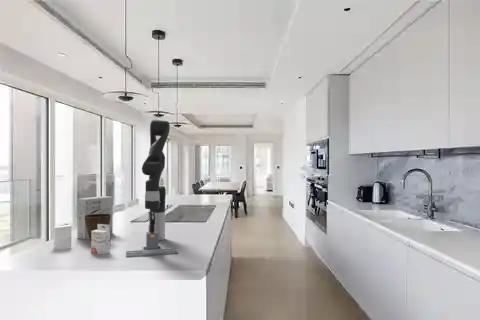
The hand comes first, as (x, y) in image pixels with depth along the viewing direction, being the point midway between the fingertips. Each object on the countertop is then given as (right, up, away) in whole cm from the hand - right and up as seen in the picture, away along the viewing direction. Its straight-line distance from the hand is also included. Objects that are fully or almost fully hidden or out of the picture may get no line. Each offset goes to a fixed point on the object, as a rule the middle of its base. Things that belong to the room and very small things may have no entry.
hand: (152, 232), depth 186 cm
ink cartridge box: (-28, -11, +1) cm, 30 cm away
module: (0, -10, 0) cm, 10 cm away
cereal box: (-49, -12, +45) cm, 68 cm away
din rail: (0, -11, 0) cm, 11 cm away
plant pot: (-40, -12, +27) cm, 49 cm away
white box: (-54, -11, +12) cm, 56 cm away
